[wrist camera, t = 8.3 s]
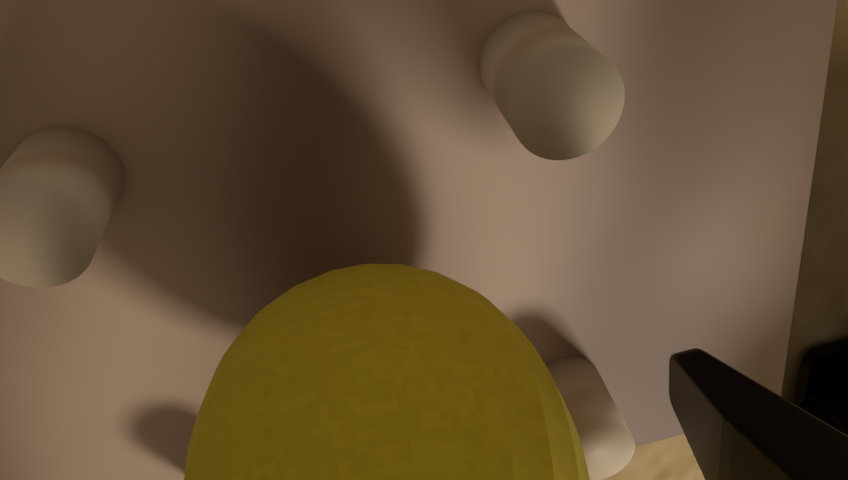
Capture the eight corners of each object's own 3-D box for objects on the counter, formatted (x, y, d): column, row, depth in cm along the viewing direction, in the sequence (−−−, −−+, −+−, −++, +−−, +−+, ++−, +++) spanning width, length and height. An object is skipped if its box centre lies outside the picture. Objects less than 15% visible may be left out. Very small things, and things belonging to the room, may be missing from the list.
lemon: (374, 433, 15) (443, 926, 9) (147, 327, 13) (8, 930, 6) (559, 274, 14) (811, 746, 7) (341, 109, 11) (435, 637, 4)
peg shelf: (709, -211, 13) (987, -217, 8) (692, 298, 21) (831, 476, 15) (-204, 5, 13) (-561, 152, 8) (102, 447, 20) (32, 683, 15)
